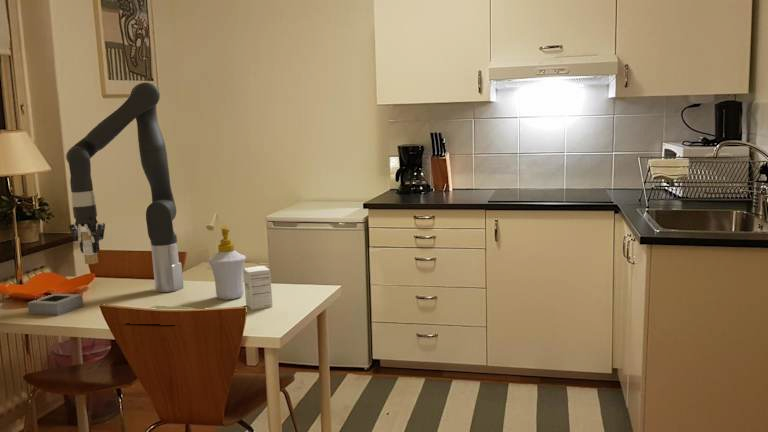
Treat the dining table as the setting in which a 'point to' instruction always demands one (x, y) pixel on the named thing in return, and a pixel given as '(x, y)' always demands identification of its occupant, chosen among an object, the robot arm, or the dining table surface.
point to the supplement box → (258, 287)
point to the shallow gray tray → (55, 304)
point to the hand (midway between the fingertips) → (90, 252)
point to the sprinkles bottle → (88, 247)
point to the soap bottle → (228, 269)
